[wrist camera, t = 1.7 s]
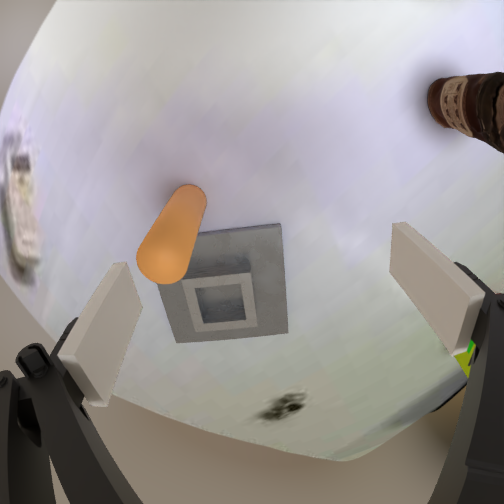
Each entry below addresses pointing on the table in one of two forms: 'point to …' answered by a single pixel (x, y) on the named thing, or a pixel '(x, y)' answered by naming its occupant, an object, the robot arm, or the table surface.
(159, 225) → the pin
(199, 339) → the grey square socket base
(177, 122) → the table surface
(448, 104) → the coffee cup
